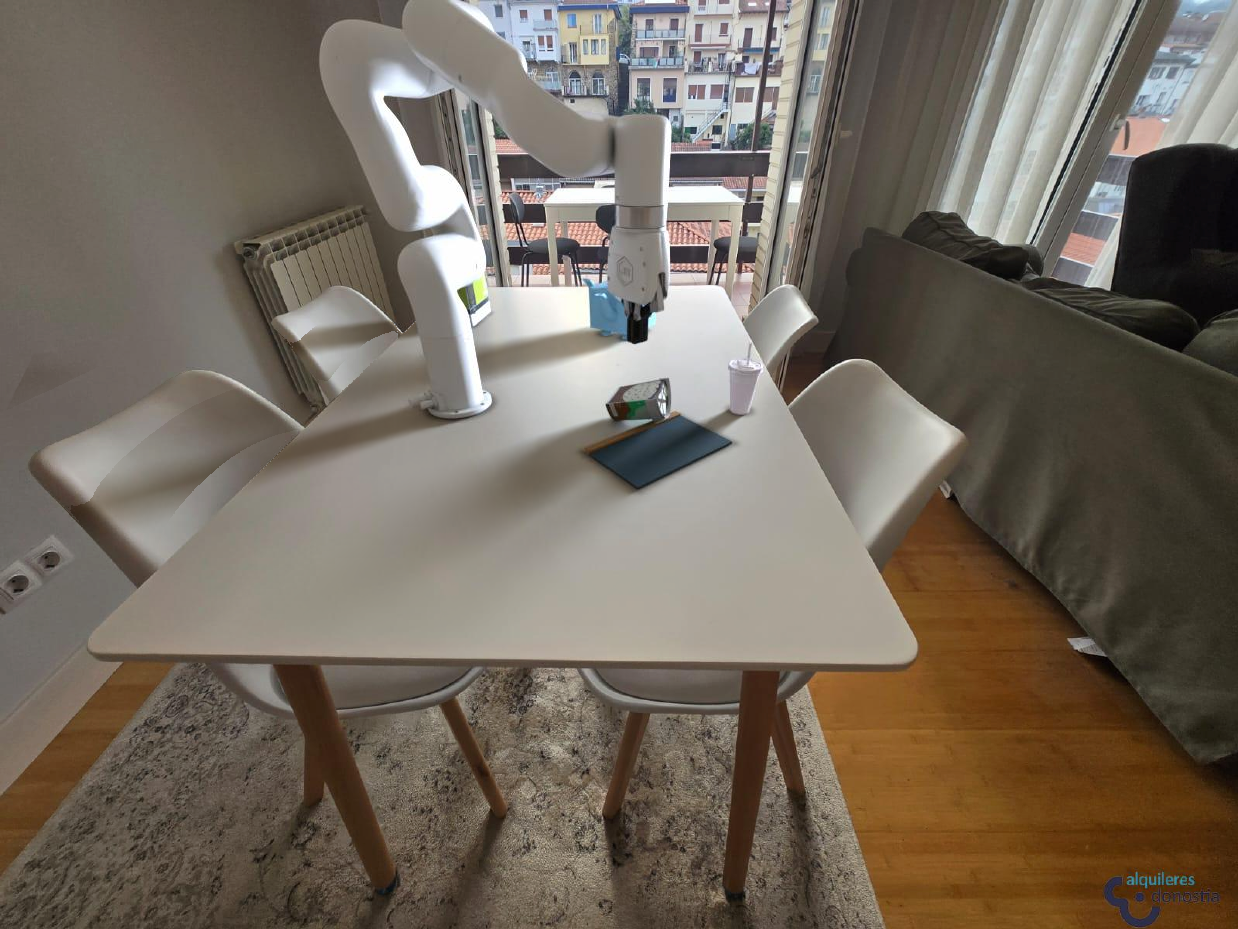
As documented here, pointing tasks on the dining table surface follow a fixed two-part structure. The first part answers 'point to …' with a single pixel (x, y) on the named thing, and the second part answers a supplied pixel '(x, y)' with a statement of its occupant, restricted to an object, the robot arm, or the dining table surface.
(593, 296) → the teakettle
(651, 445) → the dark blue notebook
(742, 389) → the smoothie
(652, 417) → the food container
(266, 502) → the dining table surface
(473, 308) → the tea box
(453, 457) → the dining table surface
